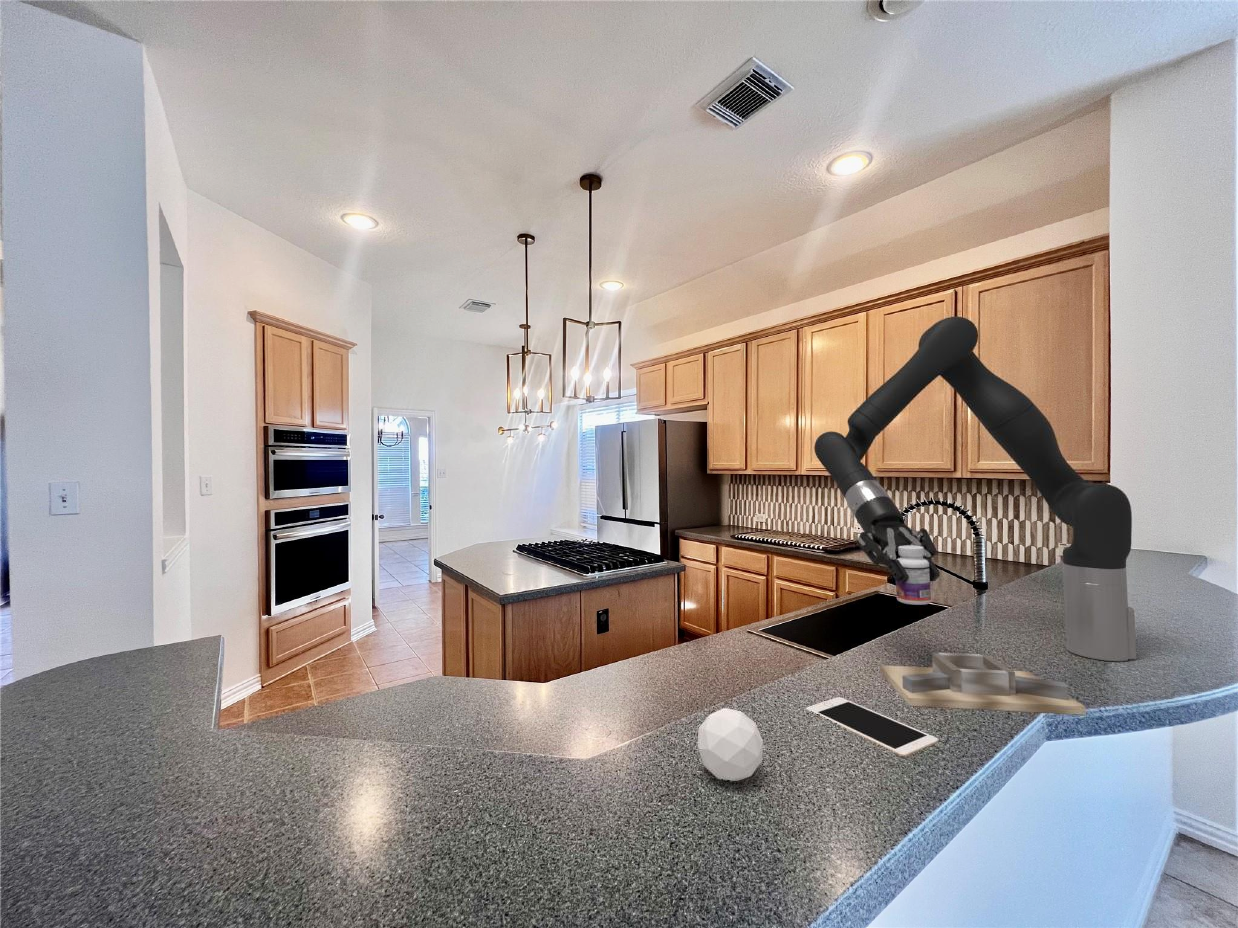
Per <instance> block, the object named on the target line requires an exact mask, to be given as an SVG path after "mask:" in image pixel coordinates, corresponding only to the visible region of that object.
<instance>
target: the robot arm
mask: <svg viewBox="0 0 1238 928" xmlns="http://www.w3.org/2000/svg"><path fill="white" fill-rule="evenodd" d="M978 341H979V331H978V328H977V326H976V325H975V323H974V322H973V321H972V320H971V319H968V318H966V317H962V316H950V317H945V318H943V319H940V320H939V321H937V322H935V323H934V324H933V325H931V326H930V327H929V328H928V329H926V330H925V331H924V332H923V334H922V335H921V336H920V338H919V340H918V349H917V350H916V352H915V353H914V354H913V355H912V356H911V358H909V360H908V361H907V362H906V363H905V364H904V365H903V366H902V367H901V368H899V370H898V371H897V372H895V374H893V375H892V376H891V377H890V378H889V379H887V380H886V381H885V382H884V383H883V384H881V385H880V386H879V387H878V388H877V389H876V390H875V391H874V392H873V393H872V394H870V395H869V397H868V396H867V398H866V399H865V400H864V401H863V402H861V404H860V405H859V406H858V407H857V408H856V409H855V410H854V411H853V412H852V413H851V414H850V416H849V417H848V418H847V426H848V432H847V434H846V435H845V436H844V435H843V434H842V433H840V432H837V431H825V432H824V433H822V434H819V436H818V437H817V438H816V440H815V442H814V446H813V447H814V453H815V456H816V458H817V459H818V461H819V462H820V463H821V465H822V467H824V469H825V470H826V471H827V472H828V474H829V475H830V476H831V478H832V479H833V480H834V482H835V484H836V486H837V488H838V489H839V491H840V492H841V494H842V497H843V498H844V499H845V501H846V503H847V505H848V507H849V510H850V512H851V513H852V515H853V516H854V518H855V520H856V521H857V523H858V524H859V526H860V528H861V530H862V531H861V532H860V534H859V535H858V537H857V539H856V541H855V543H856V544H857V545H858V547H859V548H860V550H862V551H863V552H864V554H865V555H866V556H867V558H869V560H870V561H871V562H872V563H873V564H874V565H875V566H879V565H883V566H884V567H885V568H887V569H888V570H889V573H890V574H891V575H892V577H893V579H894V580H895V582H896V581H898V582H899V583H900V584H905V583H906V581H907V580H908V579H909V576H908V574H907V573H906V571H905V570H904V568H903V566H902V565H901V563H900V562H899V560H896V559H897V555H896V552H898V547H899V546H908V545H910V546H921V547H923V548H924V556H923V559H926V560H927V561H928V562H929V569H930V582H936V581H937V579H939V578H940V577H941V576H940V574H941V573H940V572H941V571H940V570H939V569H938V567H937V565H936V564H935V563H934V562H933V558H934V557H935V556H936V555H937V554H938V550H937V548H936V546H935V545H934V542H933V540H932V537H931V536H930V534H929V532H928V530H927V529H926V528H923V527H921V528H920V530H913V529H912V528H911V527H909V526H908V525H906V523H905V519H904V515H903V514H902V512H901V511H900V509H899V507H897V505H896V503H895V502H894V500H893V499H892V498H891V497H890V495H889V494H888V493H887V491H886V490H885V488H883V486H882V485H881V484H880V483H879V482H878V481H877V479H876V478H875V477H874V475H873V473H872V472H871V471H870V470H869V468H868V467H867V466H866V465H865V464H864V463H863V462H862V460H863V458H864V457H865V455H866V454H867V452H868V451H869V449H870V447H871V446H872V444H873V443H874V440H875V439H876V437H877V436H879V434H881V433H882V432H883V431H884V430H885V429H886V428H887V427H888V426H889V425H890V424H891V423H892V422H893V421H894V420H895V419H896V418H897V417H898V416H899V415H900V414H901V413H902V412H903V411H904V409H906V407H908V405H910V403H911V402H912V401H914V399H915V398H916V397H917V396H918V395H919V394H921V392H922V391H923V390H924V389H926V387H928V386H929V385H930V384H931V383H932V382H933V381H934V380H936V379H937V378H938V377H939V376H940V377H941V378H942V379H943V380H944V381H945V382H946V383H947V384H948V385H949V386H950V387H951V388H952V389H953V390H954V391H955V392H956V394H957V395H958V396H959V397H960V398H961V400H962V401H963V402H964V404H965V405H966V406H967V408H968V409H969V410H970V411H971V413H973V415H974V416H975V417H976V419H978V421H979V422H980V423H981V424H982V426H983V427H984V428H985V430H986V431H987V433H989V434H990V436H992V438H993V439H994V440H995V442H996V443H997V444H998V445H999V446H1000V447H1001V448H1002V449H1003V450H1004V451H1005V452H1006V453H1007V455H1008V456H1009V457H1010V458H1011V459H1012V460H1013V462H1014V463H1015V464H1016V465H1017V466H1018V467H1019V468H1020V470H1022V471H1023V472H1024V474H1025V475H1026V476H1027V477H1028V478H1029V480H1030V481H1031V482H1032V483H1033V485H1034V486H1035V488H1036V489H1037V490H1038V492H1039V494H1040V495H1041V496H1042V498H1043V499H1044V501H1045V502H1046V504H1047V506H1048V507H1049V509H1050V510H1051V511H1052V512H1053V514H1054V515H1055V517H1056V518H1057V519H1058V520H1059V521H1061V522H1062V523H1064V524H1065V525H1067V526H1070V527H1072V528H1073V537H1072V538H1073V539H1072V542H1071V544H1070V545H1069V546H1067V547H1065V548H1064V549H1063V551H1062V577H1063V579H1062V580H1063V598H1064V600H1063V601H1064V620H1065V621H1064V622H1065V623H1064V624H1065V626H1064V627H1065V647H1066V650H1067V651H1068V652H1070V653H1072V654H1075V655H1077V656H1081V657H1084V658H1085V657H1086V658H1089V659H1094V660H1098V661H1099V660H1101V661H1108V662H1109V661H1110V662H1126V661H1129V660H1137V643H1136V641H1137V640H1136V624H1135V623H1136V620H1135V609H1134V608H1133V607H1131V606H1129V601H1128V597H1129V596H1128V581H1127V578H1128V577H1127V559H1128V558H1129V557H1128V556H1129V555H1130V553H1131V550H1132V531H1133V530H1132V528H1133V525H1132V524H1133V516H1132V505H1131V503H1130V500H1129V498H1128V496H1127V494H1126V493H1125V492H1124V491H1123V490H1122V489H1120V488H1119V487H1117V486H1115V485H1112V484H1107V483H1099V482H1098V483H1096V482H1094V483H1092V482H1088V481H1086V480H1085V479H1084V478H1083V477H1082V476H1081V475H1080V474H1079V473H1078V472H1077V471H1076V470H1075V469H1074V468H1073V467H1072V466H1071V465H1070V463H1068V461H1067V460H1066V459H1065V457H1064V455H1063V454H1062V452H1061V451H1062V450H1061V449H1060V446H1059V443H1058V439H1057V436H1056V433H1055V430H1054V429H1053V427H1052V424H1051V423H1050V421H1049V420H1048V418H1047V417H1046V416H1045V414H1044V413H1042V411H1041V410H1040V409H1039V408H1038V407H1037V405H1036V404H1035V403H1034V402H1033V401H1032V400H1031V399H1030V398H1029V397H1028V396H1027V395H1026V394H1025V393H1023V392H1022V391H1021V390H1019V389H1018V388H1016V387H1015V386H1013V385H1012V384H1010V383H1009V382H1007V381H1006V380H1004V379H1002V378H1001V377H999V376H998V375H996V374H995V373H994V372H992V371H991V370H990V369H989V368H988V367H986V366H985V364H984V363H983V362H982V360H980V358H979V357H978V356H977V355H976V353H975V352H974V350H975V348H976V347H977V344H978ZM1128 659H1129V660H1128Z"/></svg>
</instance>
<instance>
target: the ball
mask: <svg viewBox="0 0 1238 928" xmlns="http://www.w3.org/2000/svg"><path fill="white" fill-rule="evenodd" d="M697 732H698V734H697V735H698V736H697V748H698V751H699V752H698V753H699V754H700V758H701V760H702V765H703V766H704V767H705V768H706V769H707V770H708V771H709V772H710V773H711V774H712V775H714V777H715V778H716V779H718V780H722V779H723V780H722V781H727V780H730V781H729V782H732V781H737V782H739V780H740V781H742V780H744V779H746V778H749V777H752V776H753V774H754V773H755V771H756V770H757V768H758V767H759V765H761V763H762V761H763V750H764V741H763V738H762V735H761V734H760V731H759V728H758V726H757V723H756V722H755V721H753V719H752V718H750V717H749V716H748V715H746V714H745V713H744V712H742V711H740V710H735V709H731V708H726V707H723V708H721V709H719V710H717V711H715V712H713V713H711V714H709V715H708V716H707V717H706V718H705V719H704V721H703V722H702V723H701V725H700V726H699V727H698V731H697Z"/></svg>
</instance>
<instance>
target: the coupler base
mask: <svg viewBox="0 0 1238 928" xmlns="http://www.w3.org/2000/svg"><path fill="white" fill-rule="evenodd" d="M931 655H932V656H931V658H932V662H931V663H932V667H928V666H927V667H923V666H921V667H920V666H902V665H901V666H900V665H899V666H898V665H897V666H895V665H880V666H879V668H880V671H879V672H880V674H882V676H883V678H885V680H887V681H888V683H889V684H890V685H891V686H892V687H893V688H894V689H895V691H896V692H897V693H898V694H899V695H900V697H901V698H902V699H903V700H904V701H905V702H906V703H907V705H908V706H910V707H925V708H926V707H929V708H947V709H948V708H949V709H965V710H966V709H969V710H970V709H971V710H986V711H988V710H989V711H1003V712H1004V711H1005V712H1024V713H1025V712H1026V713H1027V712H1028V713H1043V714H1060V715H1061V714H1063V715H1082V716H1084V715H1087V714H1086V711H1087V710H1086V706H1085V705H1083V704H1082V703H1080V702H1078V701H1077V700H1076V699H1074V698H1072V697H1071V696H1069V689H1068V688H1069V687H1068V686H1067V684H1066V682H1064V681H1057V680H1050V679H1043V678H1042V679H1041V678H1040V677H1038V676H1037V675H1035V674H1033V673H1032V672H1031V671H1028V670H1027V671H1023V670H1012V669H1011V668H1009V667H1008V666H1006V665H1004V664H1003V663H1002V662H1000V661H999V660H996V659H995V658H994V657H992V656H990V655H988V654H987V655H985V654H984V655H982V654H979V653H960V652H959V653H958V652H957V653H955V652H938V653H931Z"/></svg>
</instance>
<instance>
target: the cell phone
mask: <svg viewBox="0 0 1238 928" xmlns="http://www.w3.org/2000/svg"><path fill="white" fill-rule="evenodd" d="M806 709H807V711H808V710H809V711H808V712H810V711H812V712H814V713H816V714H820V716H819V717H821V716H823V717H825V718H826V719H825V718H824V719H825V720H827V719H829V720H831V721H832V722H831V721H830V722H831V723H833V722H834V723H833V724H835V723H837V724H838V726H839V725H840V727H841V726H842V727H841V728H844V729H845V728H846V731H847V730H848V731H850V732H851V733H854V734H856V735H858V736H860V737H862V738H864V739H866V740H868V741H870V742H872V743H874V744H877V745H878V746H881V747H882V748H884V749H887V750H889V751H890V752H894V754H897V755H899V756H902V757H907V756H909V755H911V754H913V753H916V752H919V751H921V750H923V749H925V748H927V747H930V746H932V745H935V744H937V743H938V742H939V738H938V737H936V736H933V735H931V734H928V733H927V732H924V731H921V730H919V729H917V728H914V727H912V726H909V725H907V724H905V723H903V722H900V721H898V720H895V719H893V718H891V717H888V716H886V715H883V714H881V713H879V712H876V711H874V710H872V709H870V708H867V707H865V706H863V705H861V704H857V703H855V702H854V701H850V700H849V699H846V698H844V697H841V696H838V697H834V698H830V699H828V700H825V701H822V702H819V703H816V704H813V705H810V706H807V707H805V710H806ZM812 712H811V713H812ZM814 713H813V714H814ZM816 714H815V715H816ZM823 717H822V718H823ZM829 720H828V721H829ZM837 724H836V725H837Z"/></svg>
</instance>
